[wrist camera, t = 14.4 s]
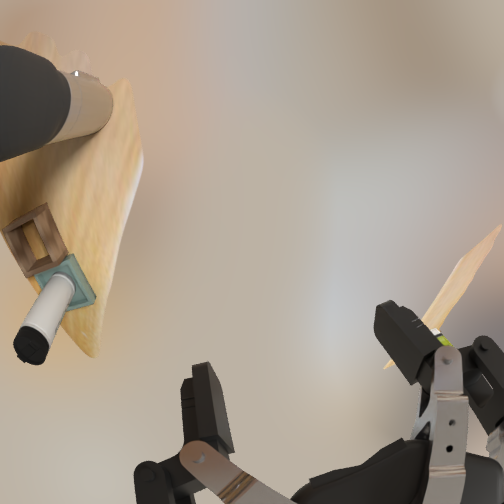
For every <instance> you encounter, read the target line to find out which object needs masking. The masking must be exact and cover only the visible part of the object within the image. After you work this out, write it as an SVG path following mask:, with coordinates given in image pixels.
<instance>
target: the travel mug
mask: <svg viewBox="0 0 504 504" xmlns="http://www.w3.org/2000/svg"><path fill="white" fill-rule="evenodd" d="M75 291H76V285H75V282H74V280H73V279H72V277H71V276H70V275H68V274H67V273H65V272H60V271H59V272H55V273H54V274H53V275H52V276H51V277H50V279H49V281H48V282H47V284H46V285H45V287H44V288H43V290H42V291H41V293H40V294H39V296H38V298H37V299H36V301H35V303H34V304H33V306H32V308H31V309H30V311H29V313H28V314H27V316H26V318H25V320H24V322H23V323H22V325H21V327H20V329H19V332H18V333H17V335H16V337H15V339H14V342H13V345H14V349H15V351H16V353H17V354H18V355H17V357H18V358H19V359H20V360H21V361H23V362H24V363H25V362H27V363H29V364H32V365H41V364H42V363H44V361H45V359H46V356H47V353H48V351H49V349H50V347H51V344H52V342H53V339H54V337H55V335H56V332H57V330H58V328H59V325H60V323H61V321H62V319H63V317H64V314H65V312H66V310H67V308H68V306H69V304H70V302H71V300H72V298H73V296H74V294H75Z"/></svg>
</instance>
